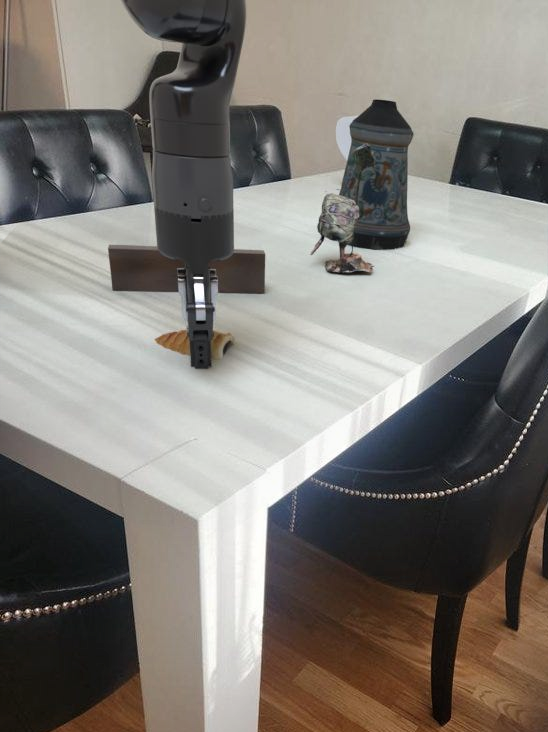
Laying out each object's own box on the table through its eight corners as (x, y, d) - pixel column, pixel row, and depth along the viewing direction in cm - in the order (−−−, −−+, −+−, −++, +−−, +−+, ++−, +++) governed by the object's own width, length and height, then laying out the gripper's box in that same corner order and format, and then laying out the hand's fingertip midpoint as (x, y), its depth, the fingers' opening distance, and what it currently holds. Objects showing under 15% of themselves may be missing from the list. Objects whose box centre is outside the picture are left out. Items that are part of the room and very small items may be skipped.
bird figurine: (315, 258, 118) (323, 136, 107) (376, 267, 118) (390, 145, 107) (306, 270, 112) (313, 141, 101) (371, 279, 111) (385, 150, 100)
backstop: (112, 290, 94) (107, 248, 90) (113, 286, 95) (108, 244, 92) (264, 293, 99) (265, 253, 96) (262, 289, 101) (263, 250, 98)
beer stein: (336, 248, 126) (348, 100, 112) (321, 223, 142) (329, 91, 128) (417, 252, 130) (438, 109, 116) (393, 228, 145) (409, 100, 132)
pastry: (144, 362, 75) (141, 330, 73) (170, 342, 81) (168, 312, 78) (220, 377, 74) (220, 345, 72) (242, 356, 79) (242, 326, 77)
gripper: (154, 188, 67) (166, 346, 76) (152, 217, 56) (166, 396, 66) (227, 192, 69) (230, 346, 78) (239, 220, 58) (240, 394, 68)
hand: (201, 368), depth 72 cm, fingers closed
